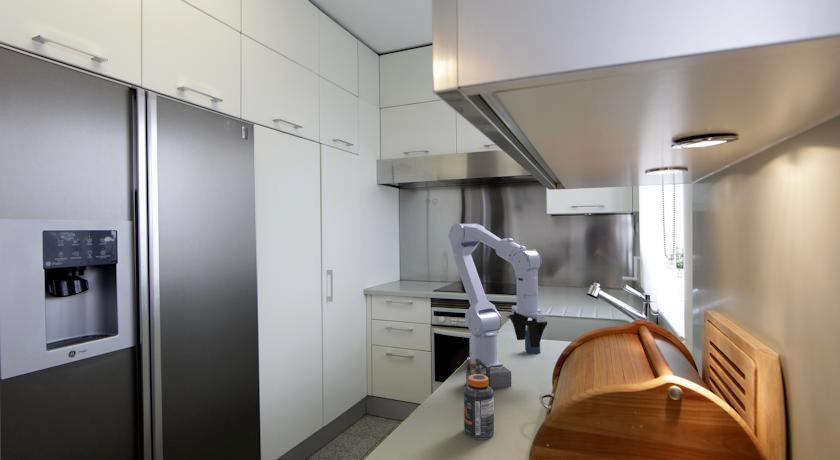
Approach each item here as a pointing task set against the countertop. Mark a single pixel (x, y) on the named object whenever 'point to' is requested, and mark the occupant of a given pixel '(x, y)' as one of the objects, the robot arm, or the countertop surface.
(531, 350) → the vaping device
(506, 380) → the gray rectangular prism
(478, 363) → the bracket
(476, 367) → the dark grey rectangular frame
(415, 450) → the countertop surface
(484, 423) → the pill bottle
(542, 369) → the countertop surface
